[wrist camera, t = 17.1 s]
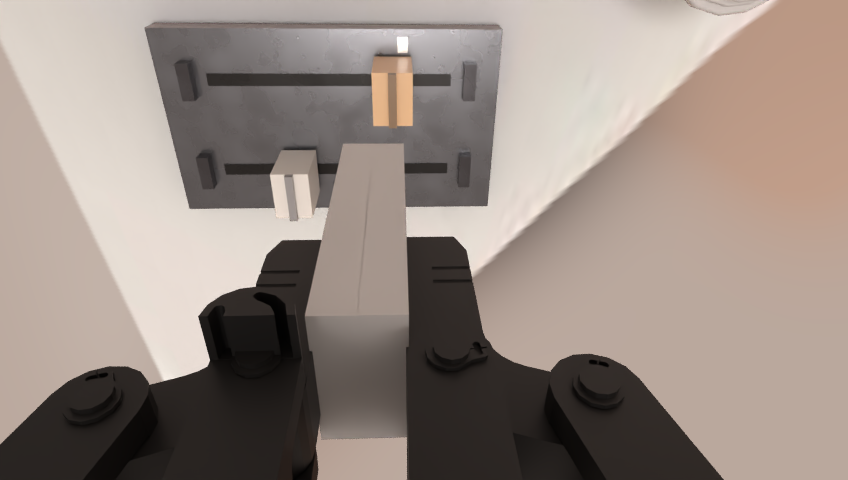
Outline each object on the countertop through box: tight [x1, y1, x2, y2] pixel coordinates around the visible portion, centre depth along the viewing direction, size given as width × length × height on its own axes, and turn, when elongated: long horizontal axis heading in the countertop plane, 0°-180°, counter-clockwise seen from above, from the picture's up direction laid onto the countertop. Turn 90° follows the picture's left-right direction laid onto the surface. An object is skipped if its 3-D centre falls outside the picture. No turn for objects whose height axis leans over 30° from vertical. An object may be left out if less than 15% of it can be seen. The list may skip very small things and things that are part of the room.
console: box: [145, 23, 502, 209], centre depth 47 cm, size 16×28×3 cm, turn 89°
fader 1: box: [270, 150, 320, 221], centre depth 46 cm, size 4×3×6 cm
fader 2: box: [371, 56, 413, 128], centre depth 42 cm, size 4×3×6 cm
